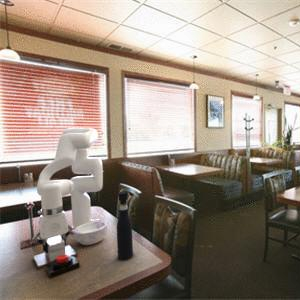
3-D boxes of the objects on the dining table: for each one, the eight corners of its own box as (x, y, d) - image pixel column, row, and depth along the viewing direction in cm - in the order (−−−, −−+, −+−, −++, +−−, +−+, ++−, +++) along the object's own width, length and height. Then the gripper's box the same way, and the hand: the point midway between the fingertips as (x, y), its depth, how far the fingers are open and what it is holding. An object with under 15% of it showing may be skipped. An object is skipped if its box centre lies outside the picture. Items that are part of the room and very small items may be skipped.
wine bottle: (136, 254, 109) (133, 191, 107) (126, 261, 103) (123, 194, 101) (125, 252, 111) (122, 190, 109) (114, 259, 105) (111, 193, 103)
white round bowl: (67, 245, 119) (66, 230, 118) (93, 233, 133) (92, 219, 132) (89, 250, 113) (88, 234, 113) (114, 237, 128) (113, 223, 127)
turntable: (69, 248, 116) (69, 245, 116) (76, 256, 108) (76, 253, 107) (33, 259, 105) (33, 256, 105) (38, 269, 97) (38, 266, 97)
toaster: (65, 256, 105) (64, 241, 104) (50, 261, 101) (49, 245, 100) (59, 248, 112) (58, 234, 112) (45, 252, 108) (44, 237, 108)
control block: (73, 260, 104) (73, 252, 104) (79, 267, 99) (78, 258, 98) (46, 270, 97) (45, 261, 96) (50, 278, 91) (49, 268, 91)
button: (66, 257, 100) (66, 253, 100) (69, 260, 98) (69, 256, 97) (55, 260, 97) (55, 256, 97) (57, 264, 95) (57, 260, 95)
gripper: (29, 217, 96) (32, 260, 97) (76, 207, 109) (78, 245, 110) (26, 213, 101) (29, 254, 102) (72, 204, 114) (74, 240, 115)
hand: (54, 249), depth 106 cm, fingers closed on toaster, 5 cm apart
